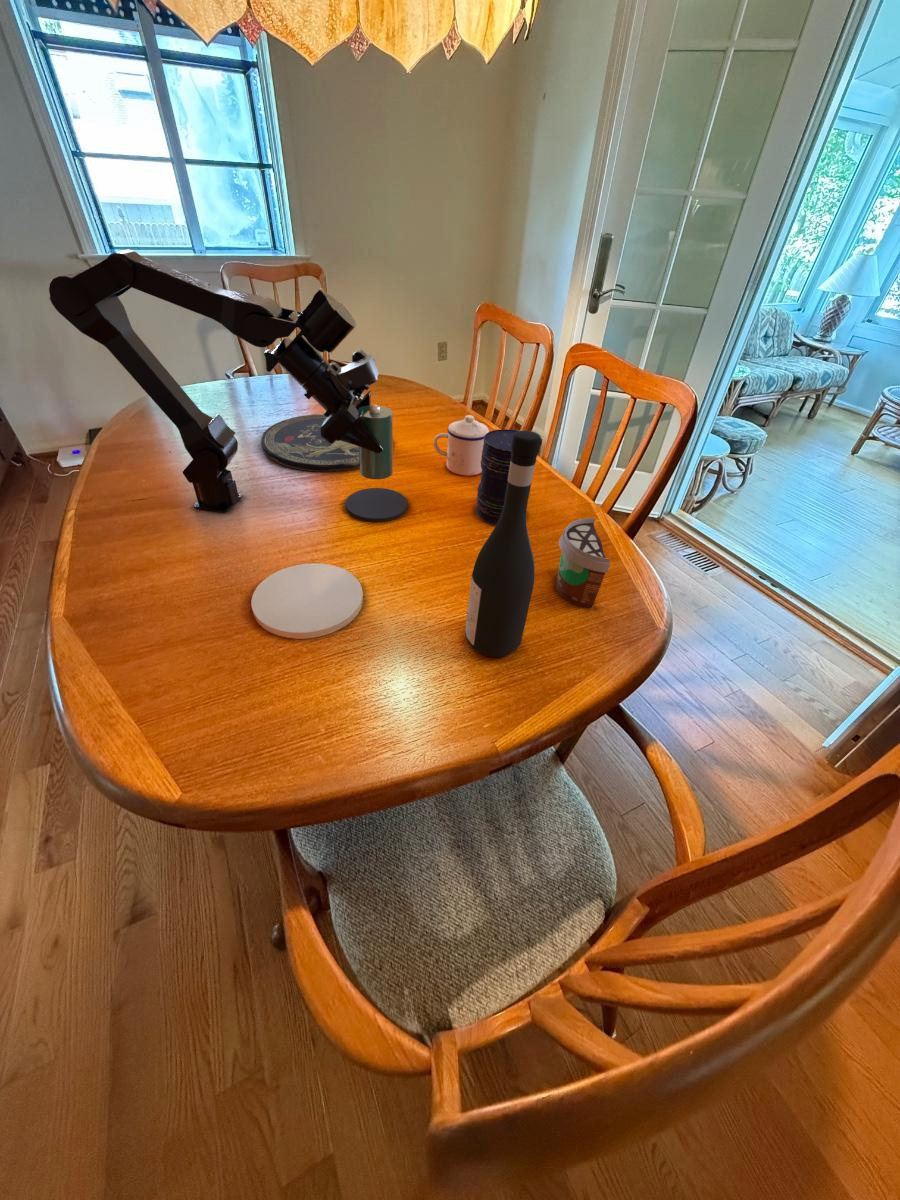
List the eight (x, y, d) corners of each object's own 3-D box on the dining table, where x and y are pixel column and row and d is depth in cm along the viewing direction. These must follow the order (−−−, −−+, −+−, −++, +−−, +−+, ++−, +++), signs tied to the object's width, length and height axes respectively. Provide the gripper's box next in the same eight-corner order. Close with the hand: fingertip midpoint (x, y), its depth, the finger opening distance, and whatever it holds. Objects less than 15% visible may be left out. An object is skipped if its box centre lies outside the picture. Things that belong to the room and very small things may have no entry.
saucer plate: (232, 628, 69) (230, 622, 68) (280, 562, 81) (279, 556, 80) (343, 647, 68) (342, 640, 67) (375, 577, 80) (375, 571, 79)
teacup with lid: (486, 461, 116) (492, 411, 108) (483, 478, 109) (490, 426, 101) (435, 455, 116) (437, 405, 109) (430, 472, 109) (432, 420, 102)
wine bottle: (456, 650, 68) (478, 440, 49) (474, 615, 74) (501, 415, 55) (512, 668, 67) (558, 457, 47) (526, 630, 72) (572, 429, 53)
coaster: (337, 517, 93) (336, 513, 92) (356, 487, 102) (356, 484, 101) (399, 526, 92) (399, 522, 91) (413, 495, 101) (413, 492, 100)
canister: (371, 482, 87) (369, 413, 79) (353, 469, 91) (349, 402, 83) (399, 474, 90) (399, 407, 83) (381, 462, 94) (379, 396, 86)
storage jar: (478, 526, 94) (487, 450, 84) (472, 500, 101) (479, 428, 91) (530, 526, 95) (544, 452, 85) (519, 500, 102) (532, 429, 93)
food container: (544, 564, 86) (556, 513, 79) (580, 566, 86) (594, 516, 79) (554, 611, 76) (568, 558, 70) (593, 614, 76) (611, 561, 70)
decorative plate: (234, 452, 107) (294, 406, 129) (236, 460, 108) (295, 413, 130) (368, 474, 103) (405, 422, 126) (368, 482, 105) (405, 430, 127)
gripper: (335, 352, 69) (412, 435, 76) (355, 323, 83) (419, 395, 91) (286, 405, 74) (363, 478, 81) (313, 369, 88) (377, 434, 95)
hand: (383, 444), depth 87 cm, fingers closed on canister, 6 cm apart
